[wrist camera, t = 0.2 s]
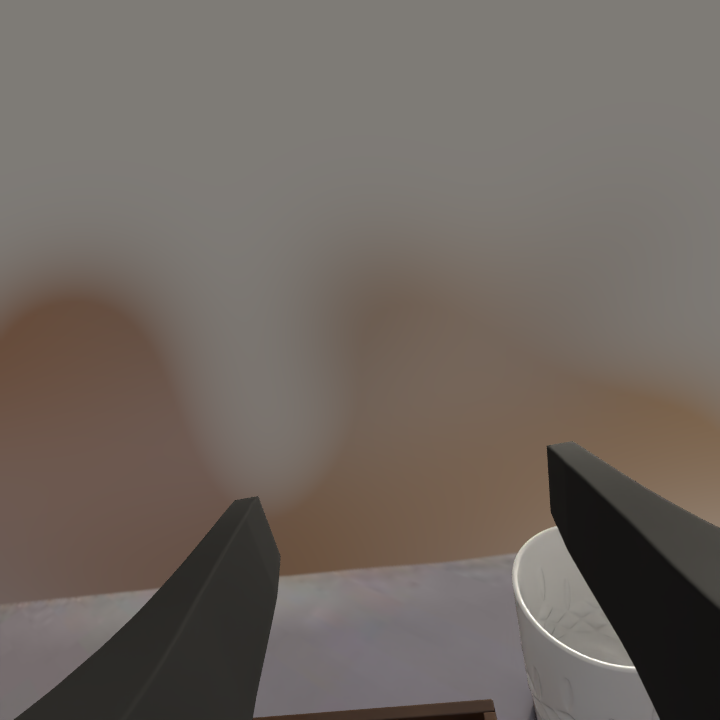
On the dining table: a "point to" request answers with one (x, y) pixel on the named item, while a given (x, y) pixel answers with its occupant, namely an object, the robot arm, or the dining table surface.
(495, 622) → the dining table surface
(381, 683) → the dining table surface
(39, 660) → the dining table surface
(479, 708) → the rack
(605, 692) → the white cup
